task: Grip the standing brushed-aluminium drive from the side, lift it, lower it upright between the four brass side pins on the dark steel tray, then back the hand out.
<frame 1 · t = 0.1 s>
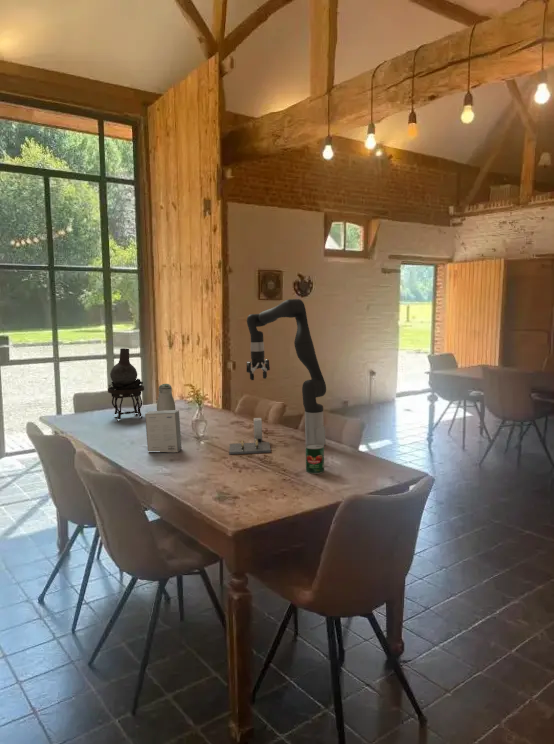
hand: (258, 379, 319), 29 cm above the table, tool pointing down, fingers open, 8 cm apart
drive: (258, 441, 298), on the table
brazier: (128, 418, 370), on the table
pin tray: (249, 449, 284), on the table
canned tomato: (315, 471, 245), on the table
grey bottle: (167, 433, 325), on the table
hard drive box: (164, 451, 286), on the table
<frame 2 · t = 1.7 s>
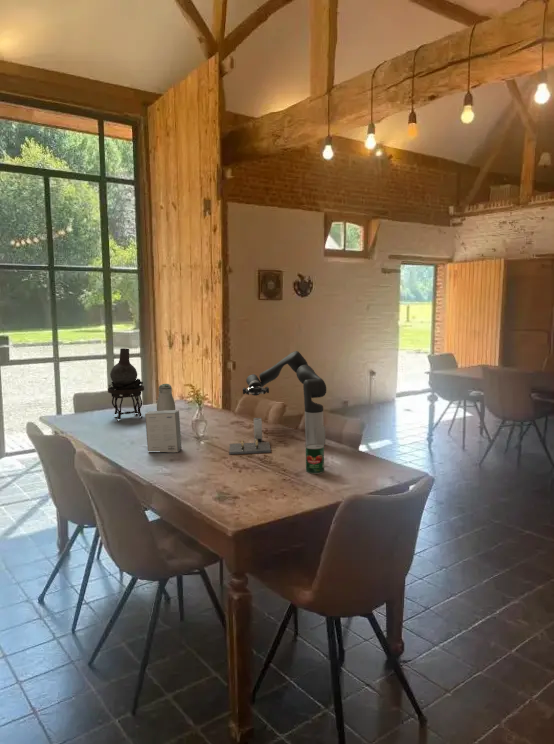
hand: (256, 392, 306), 24 cm above the table, tool horizontal, fingers open, 8 cm apart
nothing on the table moved.
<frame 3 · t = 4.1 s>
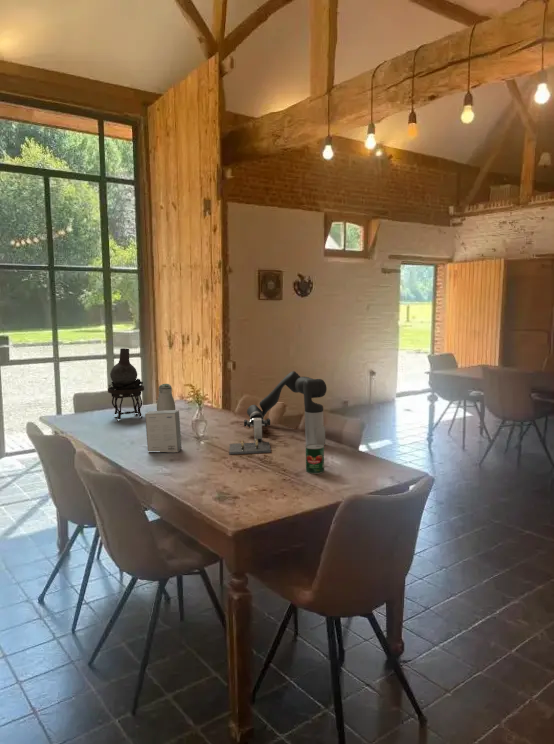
hand: (257, 425, 305), 7 cm above the table, tool horizontal, fingers open, 8 cm apart
nothing on the table moved.
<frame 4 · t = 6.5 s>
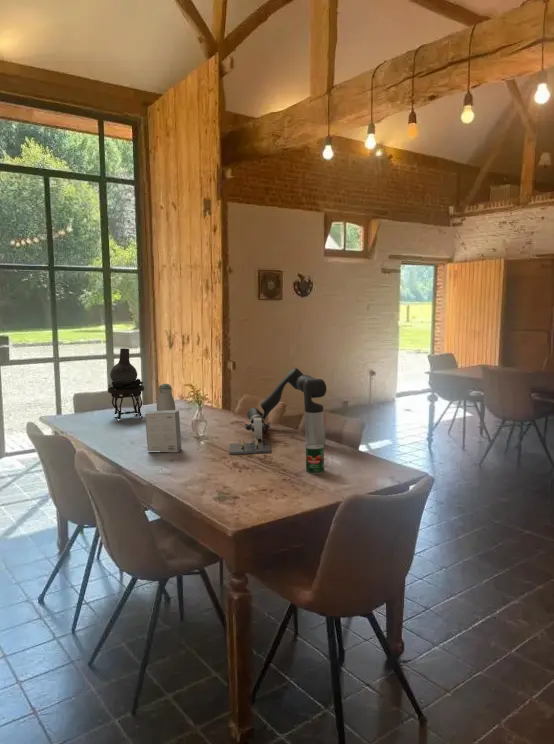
hand: (258, 429, 294), 7 cm above the table, tool horizontal, fingers closed on drive, 4 cm apart
drive: (258, 441, 298), on the table, touching gripper
everything else where it was.
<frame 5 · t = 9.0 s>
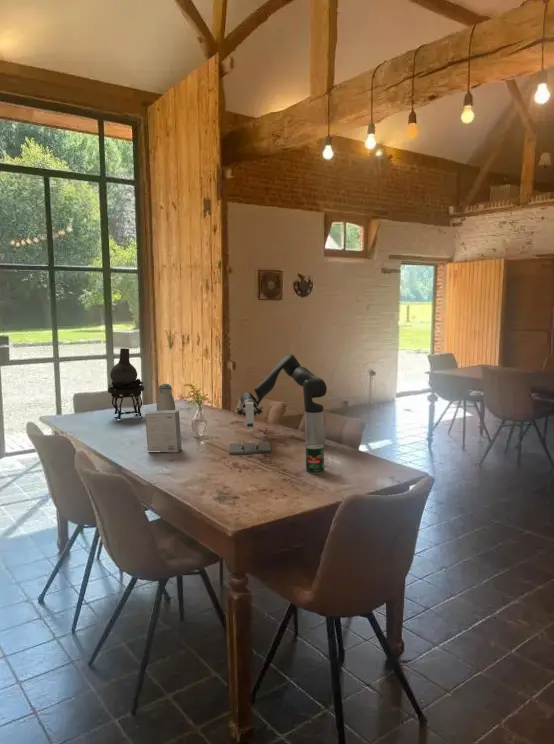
hand: (249, 414, 281), 18 cm above the table, tool horizontal, fingers closed on drive, 4 cm apart
drive: (250, 426, 285), point 11 cm above the table, touching gripper
everything else where it was.
when the fingers open (9 cm above the table, at t = 11.6 s): drive drops 1 cm, resting on pin tray.
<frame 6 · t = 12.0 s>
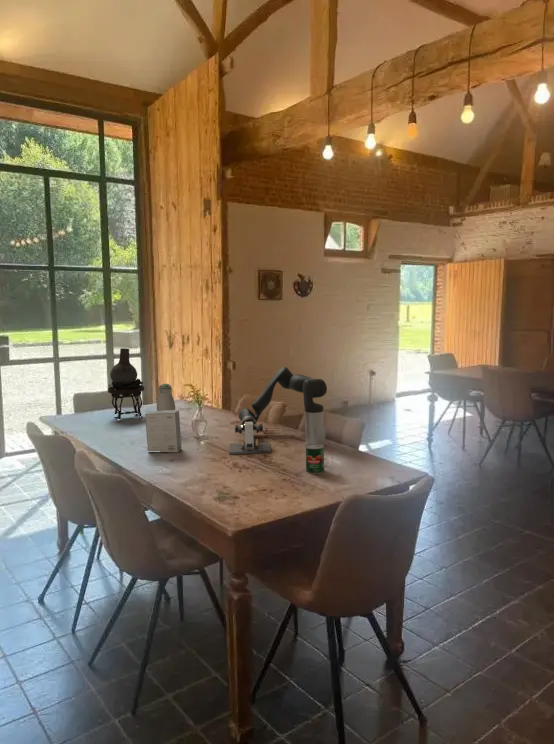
hand: (249, 431, 280), 10 cm above the table, tool horizontal, fingers open, 7 cm apart
drive: (249, 446, 284), point 1 cm above the table, touching pin tray
everything else where it was.
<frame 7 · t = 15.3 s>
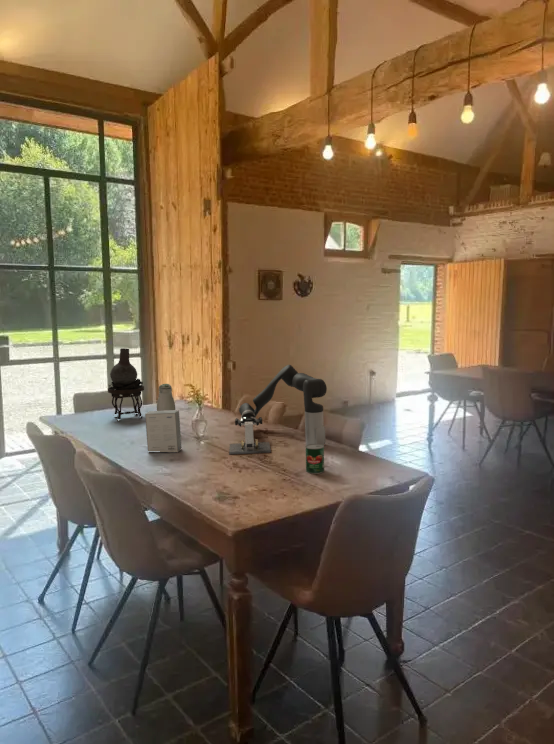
hand: (248, 424, 293), 10 cm above the table, tool horizontal, fingers open, 8 cm apart
nothing on the table moved.
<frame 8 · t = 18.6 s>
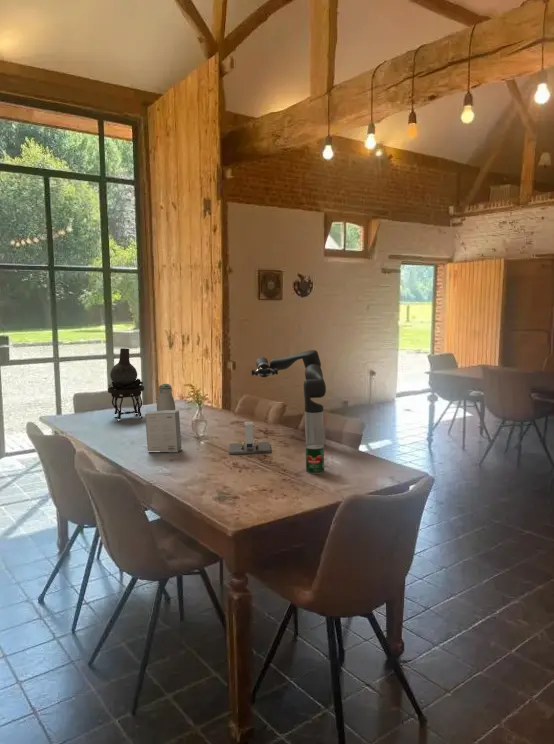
hand: (265, 373, 305), 34 cm above the table, tool horizontal, fingers open, 8 cm apart
nothing on the table moved.
at the end: drive 0.1 cm off-centre on the pin tray, point 1.2 cm above the pin tray's base; drive tilted 0°; the gripper is holding nothing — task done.
